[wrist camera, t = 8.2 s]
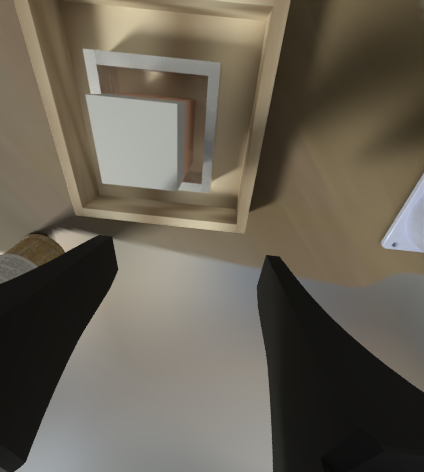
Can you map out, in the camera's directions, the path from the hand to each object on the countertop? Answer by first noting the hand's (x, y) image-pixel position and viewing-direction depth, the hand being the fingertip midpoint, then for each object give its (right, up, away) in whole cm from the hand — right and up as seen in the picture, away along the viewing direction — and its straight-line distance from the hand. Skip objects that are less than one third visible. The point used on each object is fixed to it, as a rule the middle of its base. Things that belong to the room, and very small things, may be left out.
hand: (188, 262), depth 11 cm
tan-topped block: (-2, +9, +5) cm, 10 cm away
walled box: (-2, +9, +5) cm, 11 cm away
